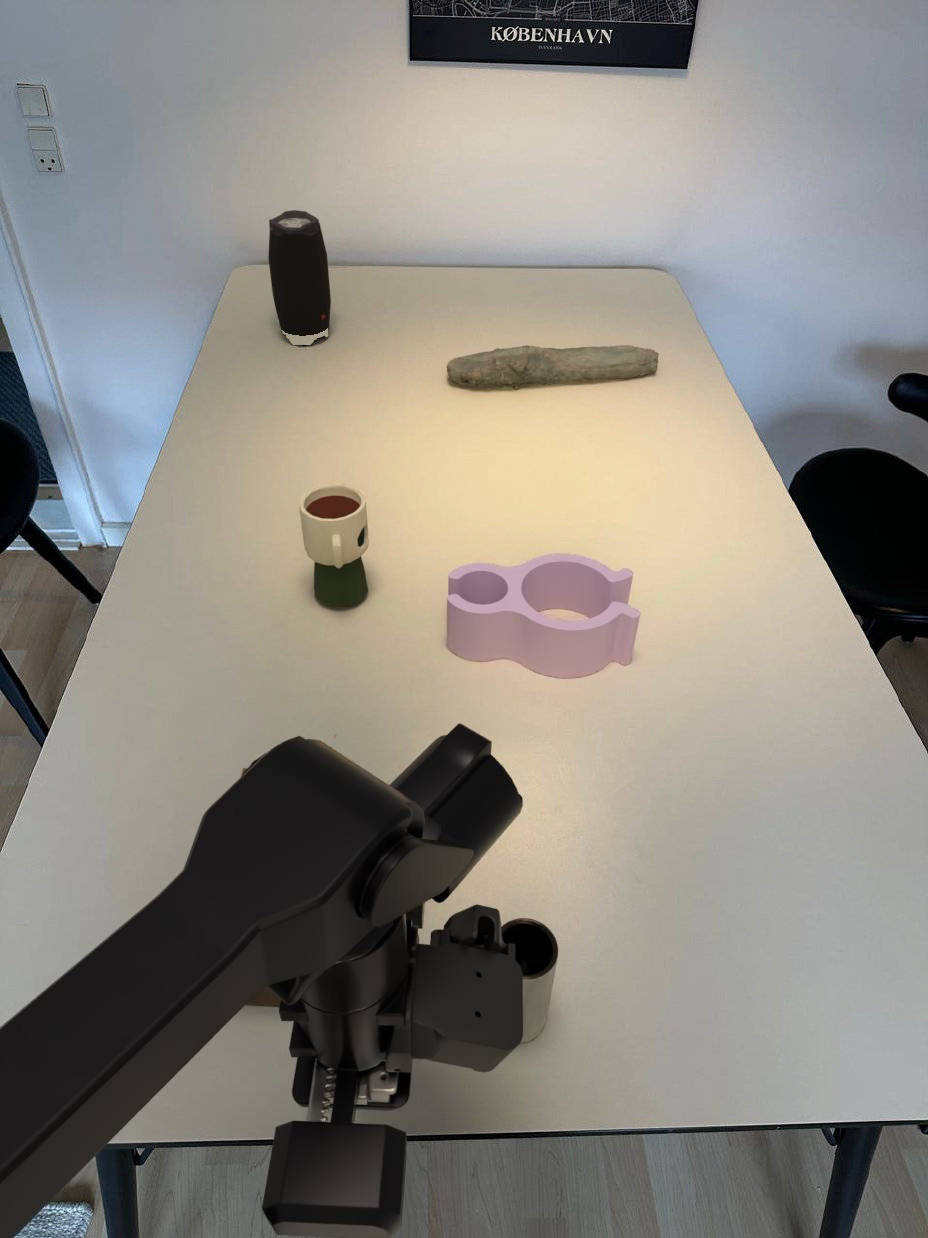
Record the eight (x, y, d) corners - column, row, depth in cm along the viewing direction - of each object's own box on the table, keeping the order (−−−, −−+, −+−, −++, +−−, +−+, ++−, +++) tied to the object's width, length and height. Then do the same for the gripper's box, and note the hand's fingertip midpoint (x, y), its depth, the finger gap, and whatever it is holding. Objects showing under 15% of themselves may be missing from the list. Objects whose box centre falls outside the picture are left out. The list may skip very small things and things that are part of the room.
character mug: (376, 622, 101) (370, 528, 93) (312, 628, 100) (300, 534, 92) (368, 561, 109) (361, 470, 100) (308, 567, 108) (297, 475, 99)
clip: (444, 674, 95) (445, 626, 91) (449, 597, 105) (450, 549, 100) (633, 680, 95) (643, 632, 91) (622, 602, 104) (630, 555, 100)
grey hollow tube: (548, 1045, 67) (560, 980, 60) (487, 1043, 67) (493, 979, 60) (544, 985, 71) (556, 917, 64) (487, 984, 71) (492, 916, 64)
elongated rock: (665, 389, 145) (644, 364, 153) (672, 358, 142) (650, 334, 149) (452, 395, 139) (441, 368, 146) (454, 362, 135) (442, 336, 143)
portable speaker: (341, 340, 154) (332, 221, 140) (291, 352, 150) (276, 231, 137) (320, 321, 159) (309, 205, 146) (270, 333, 155) (255, 214, 142)
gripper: (521, 1188, 35) (502, 1285, 46) (516, 796, 49) (503, 939, 59) (236, 1176, 35) (283, 1275, 46) (312, 788, 49) (335, 933, 60)
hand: (365, 1083), depth 53 cm, fingers closed
